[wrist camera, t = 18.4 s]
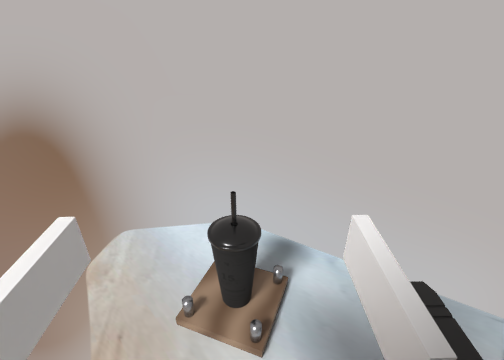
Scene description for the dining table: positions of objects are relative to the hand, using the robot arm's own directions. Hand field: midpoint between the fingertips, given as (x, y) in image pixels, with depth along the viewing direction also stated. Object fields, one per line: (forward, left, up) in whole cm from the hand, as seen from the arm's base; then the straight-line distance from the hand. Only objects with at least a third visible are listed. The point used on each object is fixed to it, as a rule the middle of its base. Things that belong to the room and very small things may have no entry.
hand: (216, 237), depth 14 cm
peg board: (+8, -19, -32) cm, 38 cm away
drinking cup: (+8, -20, -31) cm, 37 cm away
